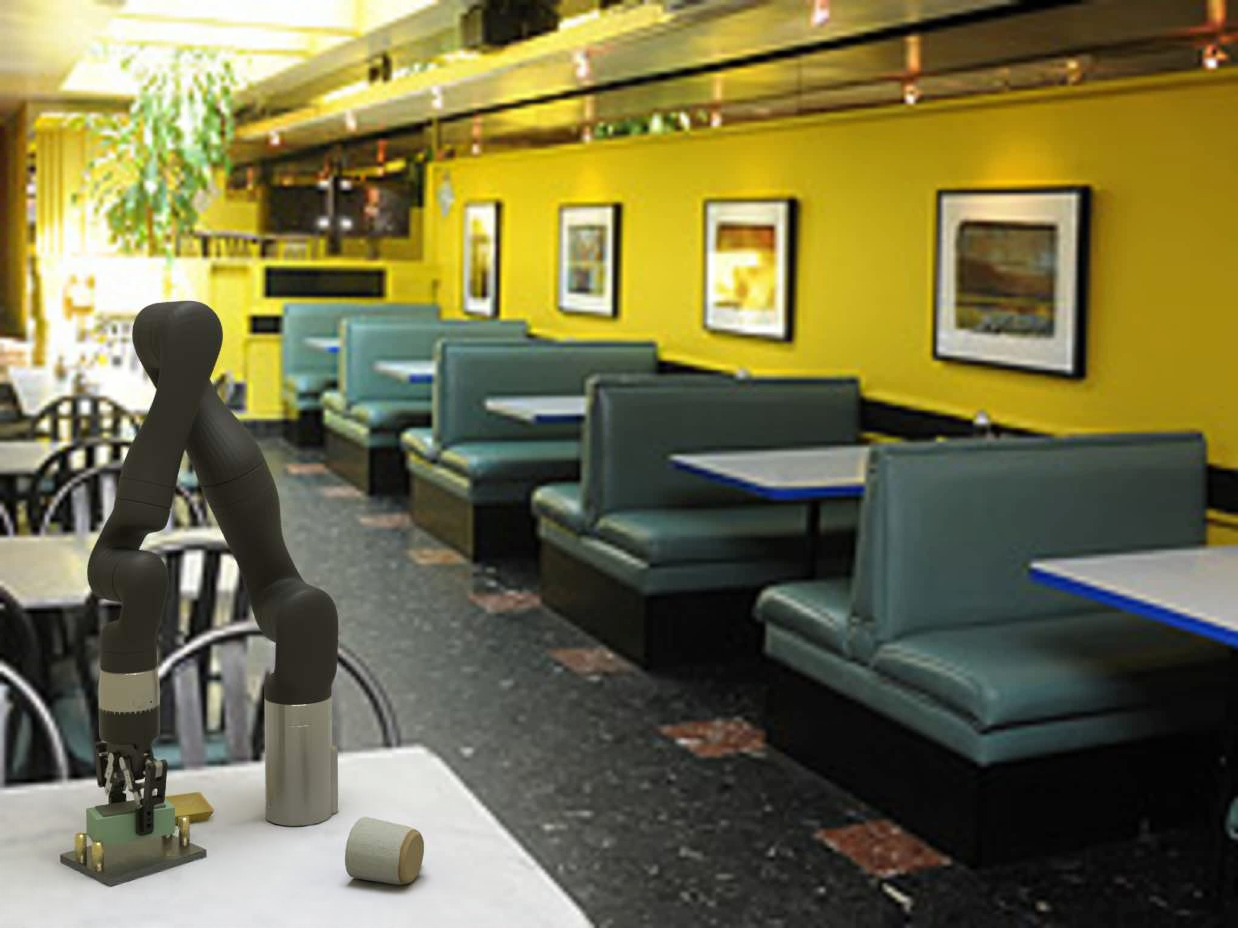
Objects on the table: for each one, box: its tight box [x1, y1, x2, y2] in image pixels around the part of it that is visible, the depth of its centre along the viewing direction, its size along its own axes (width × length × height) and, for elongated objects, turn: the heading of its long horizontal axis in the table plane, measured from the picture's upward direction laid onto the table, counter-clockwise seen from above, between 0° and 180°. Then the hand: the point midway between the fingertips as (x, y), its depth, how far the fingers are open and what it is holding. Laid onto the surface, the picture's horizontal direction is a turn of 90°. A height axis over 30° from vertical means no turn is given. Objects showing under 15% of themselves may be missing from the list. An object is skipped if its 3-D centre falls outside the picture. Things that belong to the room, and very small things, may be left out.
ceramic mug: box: [344, 816, 425, 886], centre depth 205 cm, size 11×8×8 cm
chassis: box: [59, 816, 208, 887], centre depth 209 cm, size 14×12×4 cm
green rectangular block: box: [85, 798, 176, 846], centre depth 209 cm, size 10×5×4 cm, turn 123°
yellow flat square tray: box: [165, 791, 215, 826], centre depth 226 cm, size 9×9×2 cm
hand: (131, 827), depth 209 cm, fingers closed on green rectangular block, 5 cm apart
